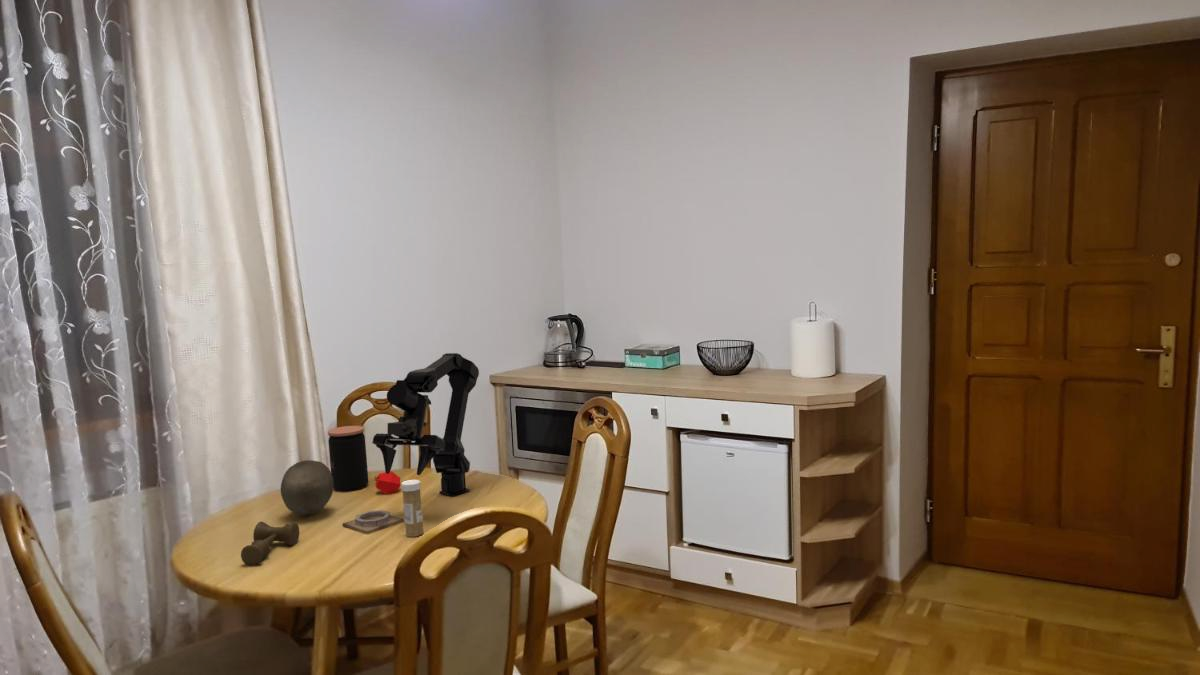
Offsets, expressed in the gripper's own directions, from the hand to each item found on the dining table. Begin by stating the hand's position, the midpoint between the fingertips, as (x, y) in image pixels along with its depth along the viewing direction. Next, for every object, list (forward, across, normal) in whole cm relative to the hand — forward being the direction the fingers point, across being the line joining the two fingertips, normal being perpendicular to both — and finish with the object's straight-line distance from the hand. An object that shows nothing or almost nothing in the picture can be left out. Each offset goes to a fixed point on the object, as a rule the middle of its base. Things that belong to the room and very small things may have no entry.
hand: (402, 474), depth 206 cm
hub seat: (+12, -8, +4) cm, 16 cm away
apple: (0, -20, +27) cm, 34 cm away
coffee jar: (-1, -36, +30) cm, 46 cm away
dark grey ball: (+11, -31, +7) cm, 33 cm away
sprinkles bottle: (+15, +7, 0) cm, 17 cm away
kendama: (+23, -23, -14) cm, 36 cm away
